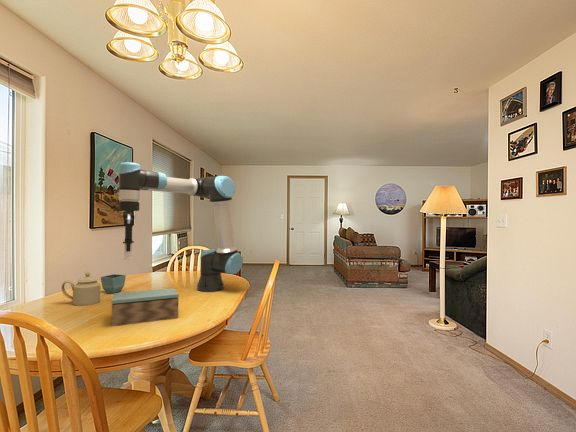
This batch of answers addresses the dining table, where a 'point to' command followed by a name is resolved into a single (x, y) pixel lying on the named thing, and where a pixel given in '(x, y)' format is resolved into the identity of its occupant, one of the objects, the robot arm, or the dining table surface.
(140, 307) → the walnut box
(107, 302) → the dining table surface
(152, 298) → the lid
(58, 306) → the dining table surface
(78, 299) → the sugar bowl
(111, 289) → the flower pot
